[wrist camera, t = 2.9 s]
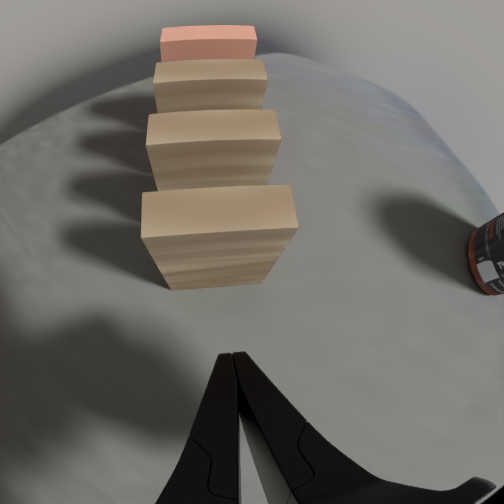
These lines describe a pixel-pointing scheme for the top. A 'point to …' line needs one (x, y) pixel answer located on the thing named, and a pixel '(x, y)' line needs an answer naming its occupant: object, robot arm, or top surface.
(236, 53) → the domino
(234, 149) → the domino
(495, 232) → the supplement bottle
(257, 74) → the domino
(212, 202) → the domino
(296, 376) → the top surface
